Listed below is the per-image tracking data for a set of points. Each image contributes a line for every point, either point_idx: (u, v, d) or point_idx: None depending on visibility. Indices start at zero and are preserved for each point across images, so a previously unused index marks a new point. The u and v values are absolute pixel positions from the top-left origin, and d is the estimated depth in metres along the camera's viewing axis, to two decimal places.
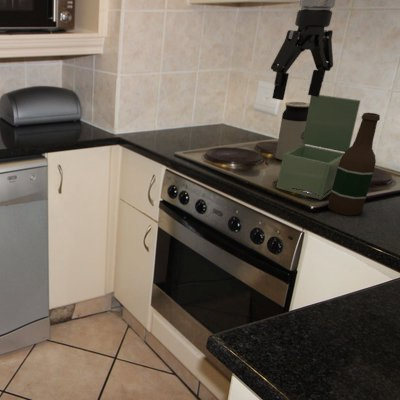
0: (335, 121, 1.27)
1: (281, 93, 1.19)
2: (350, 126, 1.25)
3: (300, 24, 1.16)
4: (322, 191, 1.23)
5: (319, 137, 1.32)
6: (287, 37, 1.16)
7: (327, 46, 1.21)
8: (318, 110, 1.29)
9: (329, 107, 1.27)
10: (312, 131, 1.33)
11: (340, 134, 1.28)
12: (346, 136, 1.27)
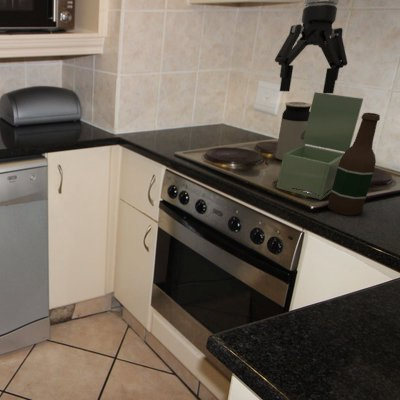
0: (337, 120, 1.28)
1: (286, 85, 1.23)
2: (352, 125, 1.26)
3: (304, 20, 1.21)
4: (322, 191, 1.23)
5: (320, 136, 1.32)
6: (291, 31, 1.21)
7: (338, 43, 1.23)
8: (320, 108, 1.30)
9: (331, 105, 1.28)
10: (313, 131, 1.33)
11: (341, 133, 1.28)
12: (347, 135, 1.27)
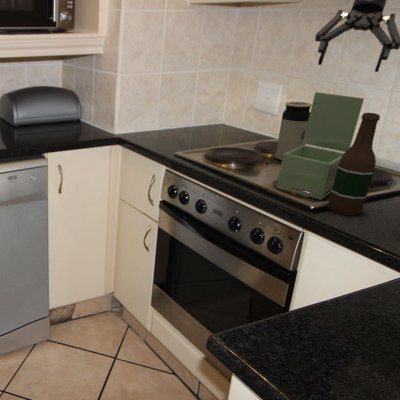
0: (338, 120, 1.28)
1: (320, 55, 1.33)
2: (352, 124, 1.26)
3: None
4: (322, 191, 1.23)
5: (320, 136, 1.32)
6: None
7: (390, 26, 1.28)
8: (321, 108, 1.31)
9: (332, 105, 1.28)
10: (313, 130, 1.33)
11: (341, 133, 1.28)
12: (347, 135, 1.27)
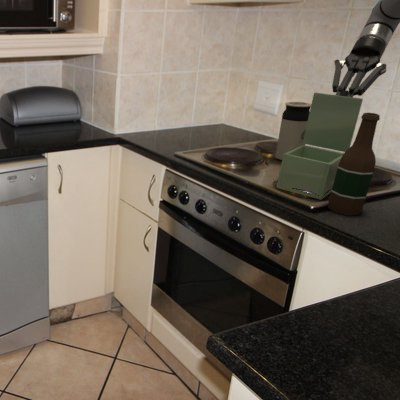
0: (337, 120, 1.28)
1: None
2: (351, 125, 1.26)
3: None
4: (322, 191, 1.23)
5: (320, 136, 1.32)
6: None
7: None
8: (320, 108, 1.30)
9: (331, 105, 1.28)
10: (313, 131, 1.33)
11: (341, 133, 1.28)
12: (347, 135, 1.27)
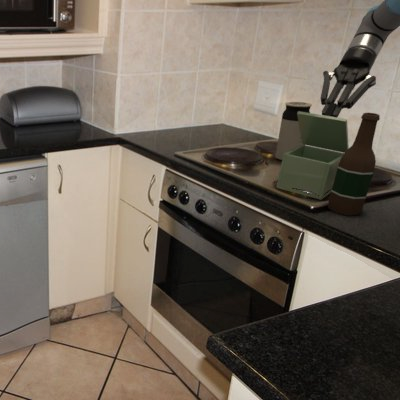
0: (328, 132, 1.26)
1: None
2: (343, 137, 1.24)
3: None
4: (322, 191, 1.23)
5: (316, 141, 1.32)
6: None
7: None
8: (308, 124, 1.27)
9: (318, 123, 1.24)
10: (308, 137, 1.32)
11: (336, 141, 1.27)
12: (342, 143, 1.26)
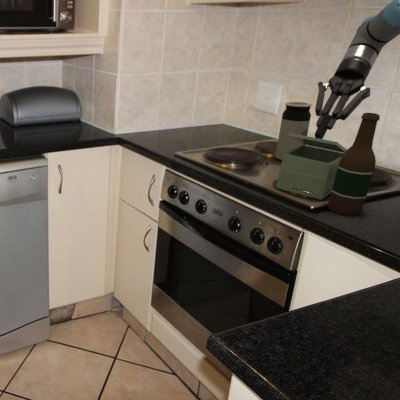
0: (323, 145, 1.26)
1: None
2: (338, 148, 1.24)
3: None
4: (322, 191, 1.23)
5: (315, 146, 1.32)
6: None
7: None
8: (301, 140, 1.27)
9: (310, 141, 1.25)
10: (306, 143, 1.32)
11: (333, 148, 1.27)
12: (339, 150, 1.26)
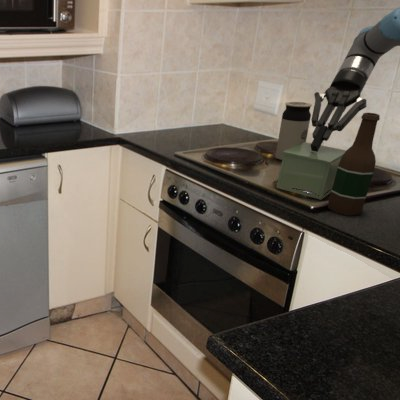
0: None
1: None
2: None
3: None
4: (322, 191, 1.23)
5: None
6: None
7: None
8: None
9: None
10: None
11: None
12: None
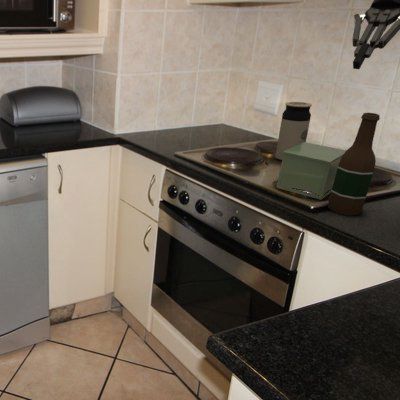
0: None
1: None
2: None
3: None
4: (322, 191, 1.23)
5: None
6: None
7: None
8: None
9: None
10: None
11: None
12: None
